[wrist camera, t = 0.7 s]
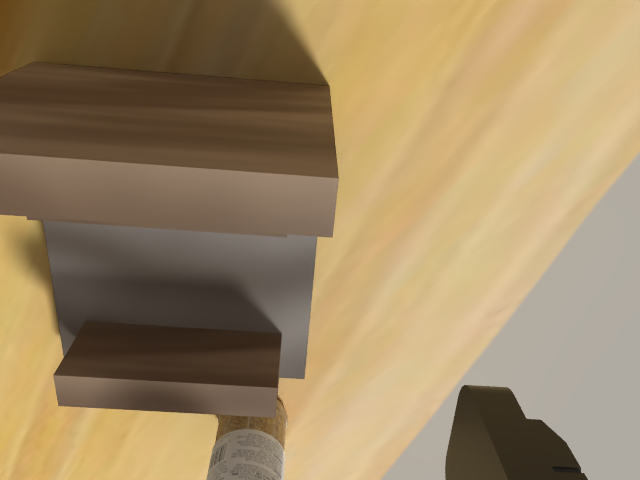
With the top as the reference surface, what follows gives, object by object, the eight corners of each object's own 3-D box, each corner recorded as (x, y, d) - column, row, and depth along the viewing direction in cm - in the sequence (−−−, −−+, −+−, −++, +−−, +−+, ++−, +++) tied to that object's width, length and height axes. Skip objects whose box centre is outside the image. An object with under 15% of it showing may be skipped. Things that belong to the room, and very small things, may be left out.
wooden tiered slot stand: (33, 61, 27) (-145, 142, 17) (329, 85, 28) (338, 178, 17) (74, 348, 35) (-29, 527, 25) (304, 362, 36) (300, 542, 25)
